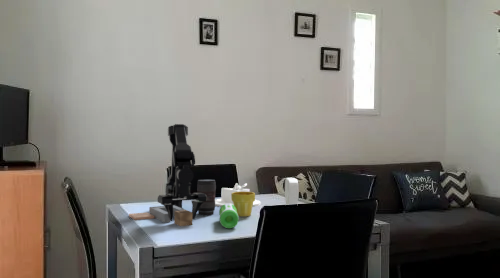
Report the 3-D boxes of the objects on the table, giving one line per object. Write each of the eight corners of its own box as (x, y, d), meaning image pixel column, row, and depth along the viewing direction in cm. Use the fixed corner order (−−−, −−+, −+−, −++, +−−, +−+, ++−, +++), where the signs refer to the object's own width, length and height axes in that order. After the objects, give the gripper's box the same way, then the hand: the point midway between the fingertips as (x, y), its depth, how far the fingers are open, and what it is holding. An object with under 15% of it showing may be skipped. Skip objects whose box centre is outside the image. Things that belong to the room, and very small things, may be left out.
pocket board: (173, 213, 201) (174, 205, 201) (190, 220, 186) (190, 211, 186) (149, 215, 196) (149, 207, 196) (164, 222, 180) (164, 213, 180)
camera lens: (218, 213, 203) (219, 179, 202) (209, 216, 195) (209, 181, 195) (202, 211, 206) (203, 178, 206) (193, 214, 199) (193, 180, 198)
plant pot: (227, 216, 196) (227, 193, 196) (236, 212, 206) (236, 190, 205) (250, 218, 192) (250, 195, 192) (258, 214, 202) (258, 192, 202)
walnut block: (186, 222, 182) (186, 209, 182) (192, 225, 177) (192, 212, 177) (174, 223, 180) (174, 210, 180) (180, 226, 175) (180, 213, 174)
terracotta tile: (147, 214, 197) (147, 212, 197) (154, 218, 189) (154, 215, 189) (128, 216, 192) (129, 213, 192) (135, 220, 185) (135, 217, 185)
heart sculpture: (300, 227, 176) (300, 180, 176) (287, 227, 176) (287, 180, 176) (294, 219, 192) (295, 176, 192) (282, 219, 192) (283, 176, 191)
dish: (269, 203, 235) (269, 181, 234) (243, 210, 213) (243, 186, 213) (230, 199, 248) (230, 178, 247) (201, 204, 226) (201, 182, 226)
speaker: (218, 220, 188) (219, 202, 187) (236, 220, 188) (236, 202, 188) (219, 229, 170) (219, 209, 170) (238, 229, 171) (239, 209, 171)
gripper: (195, 177, 191) (195, 214, 191) (152, 179, 181) (152, 218, 181) (207, 180, 181) (207, 219, 181) (162, 182, 171) (162, 223, 172)
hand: (182, 220), depth 179 cm, fingers open, 9 cm apart
